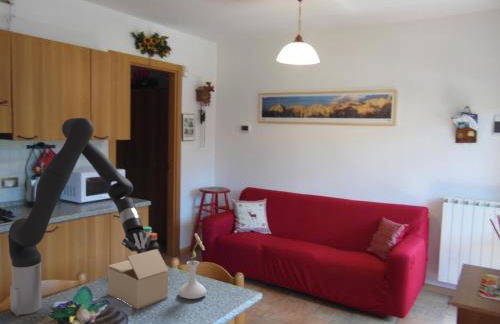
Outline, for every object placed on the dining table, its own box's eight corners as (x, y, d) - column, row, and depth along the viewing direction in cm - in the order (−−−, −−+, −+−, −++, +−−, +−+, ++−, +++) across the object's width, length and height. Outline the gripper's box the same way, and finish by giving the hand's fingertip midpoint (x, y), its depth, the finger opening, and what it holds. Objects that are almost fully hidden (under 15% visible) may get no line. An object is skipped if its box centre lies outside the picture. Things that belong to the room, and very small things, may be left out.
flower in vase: (201, 303, 156) (202, 239, 154) (173, 300, 158) (174, 237, 156) (211, 290, 168) (212, 231, 166) (185, 287, 171) (186, 229, 169)
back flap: (122, 272, 155) (122, 271, 154) (108, 266, 161) (108, 265, 161) (151, 264, 165) (151, 263, 165) (137, 259, 171) (137, 257, 171)
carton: (137, 309, 149) (137, 280, 148) (108, 294, 161) (108, 267, 161) (167, 298, 159) (167, 271, 159) (137, 285, 172) (138, 259, 171)
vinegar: (160, 275, 184) (161, 232, 183) (155, 281, 177) (156, 236, 176) (146, 274, 185) (146, 232, 183) (141, 280, 178) (141, 235, 176)
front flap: (138, 279, 148) (139, 279, 147) (127, 257, 152) (127, 256, 152) (167, 270, 158) (168, 269, 158) (156, 249, 162) (157, 248, 162)
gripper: (118, 218, 159) (130, 257, 150) (149, 214, 167) (162, 251, 159) (112, 228, 163) (124, 266, 155) (143, 224, 172) (155, 260, 163)
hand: (143, 258), depth 157 cm, fingers closed
